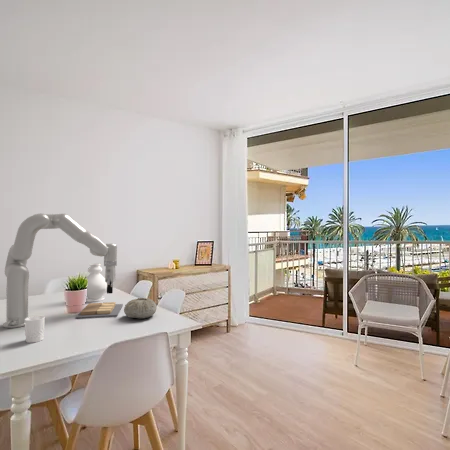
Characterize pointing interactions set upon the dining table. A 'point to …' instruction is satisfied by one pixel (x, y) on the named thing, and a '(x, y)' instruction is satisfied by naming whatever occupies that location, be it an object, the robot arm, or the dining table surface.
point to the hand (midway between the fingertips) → (109, 293)
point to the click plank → (106, 308)
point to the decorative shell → (140, 308)
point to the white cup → (34, 328)
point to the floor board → (113, 314)
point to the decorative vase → (95, 283)
